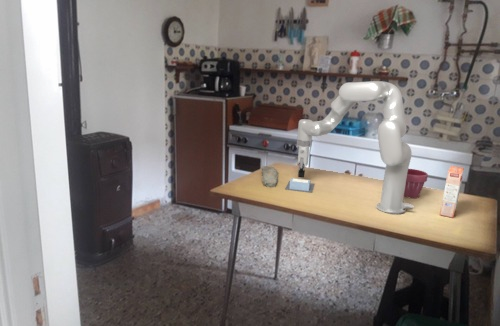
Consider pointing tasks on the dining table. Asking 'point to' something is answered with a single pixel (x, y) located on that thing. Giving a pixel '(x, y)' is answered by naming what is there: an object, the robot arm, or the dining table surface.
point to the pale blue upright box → (299, 184)
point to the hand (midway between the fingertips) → (301, 176)
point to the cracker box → (451, 191)
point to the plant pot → (414, 183)
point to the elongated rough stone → (269, 176)
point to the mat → (301, 190)
